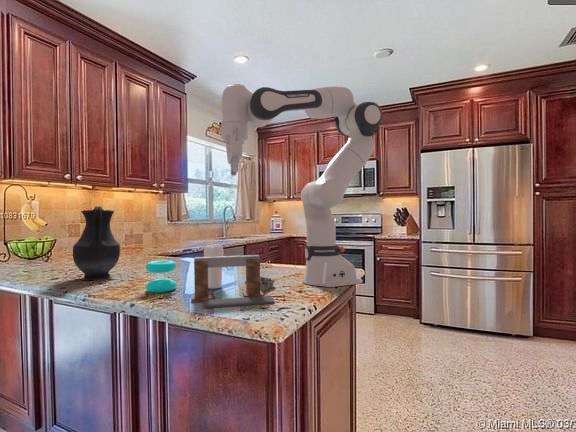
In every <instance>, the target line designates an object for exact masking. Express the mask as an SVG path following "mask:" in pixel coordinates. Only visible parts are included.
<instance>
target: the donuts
mask: <svg viewBox="0 0 576 432" xmlns="http://www.w3.org/2000/svg"><path fill="white" fill-rule="evenodd" d="M176 268H177V263H176V261H174V260H168V259H163V260H162V259H161V260H160V259H159V260H152V261H148V262H147V263H146V264H145V269H146V271H148V272H149V273H151V274H167V273H170V272H172V271H173V270H175V269H176ZM176 288H177V282H176V281H175V280H173V278H172V279H171V278H156V279H152V280H150V281H148V282H147V284H146V285H145V290H146V291H147V292H149V293H153V294H154V293H155V294H159V293H160V294H161V293H168V292H171V291H173V290H175V289H176Z"/></svg>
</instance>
